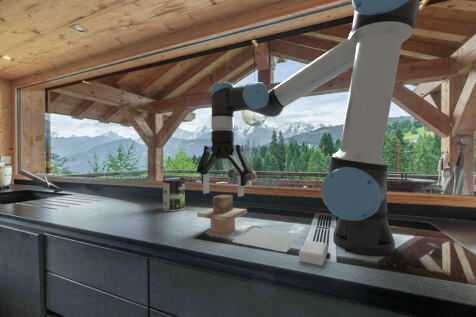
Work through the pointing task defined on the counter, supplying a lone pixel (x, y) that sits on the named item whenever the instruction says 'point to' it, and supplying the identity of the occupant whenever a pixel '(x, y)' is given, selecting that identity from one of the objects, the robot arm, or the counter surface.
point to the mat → (268, 239)
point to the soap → (313, 252)
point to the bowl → (222, 226)
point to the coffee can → (173, 194)
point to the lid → (222, 209)
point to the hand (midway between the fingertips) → (222, 194)
